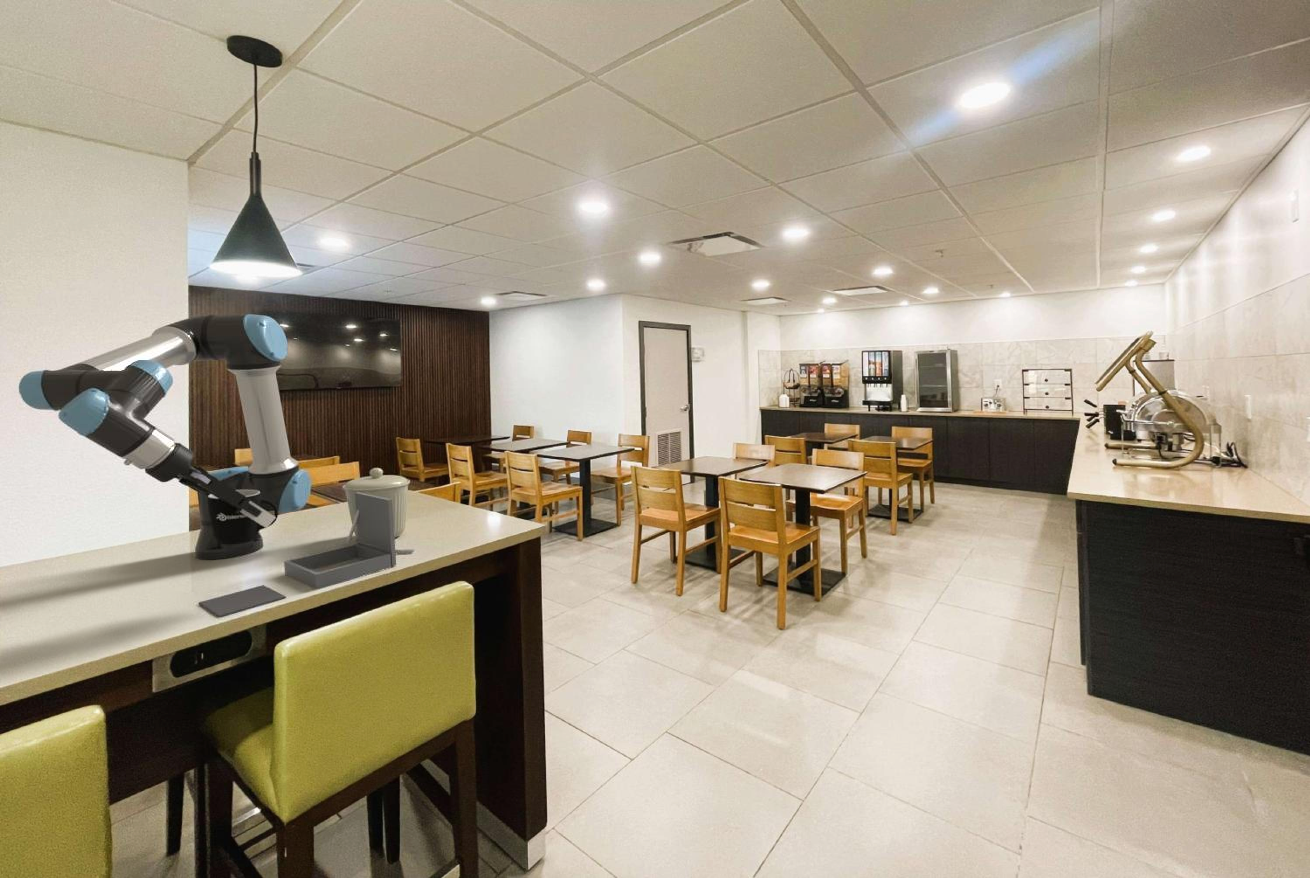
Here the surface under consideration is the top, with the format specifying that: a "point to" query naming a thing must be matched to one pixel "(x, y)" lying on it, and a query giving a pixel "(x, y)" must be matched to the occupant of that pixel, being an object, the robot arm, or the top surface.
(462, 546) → the top surface
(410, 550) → the rod
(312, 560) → the case
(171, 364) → the robot arm
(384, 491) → the canister
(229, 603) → the mat
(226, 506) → the mug
